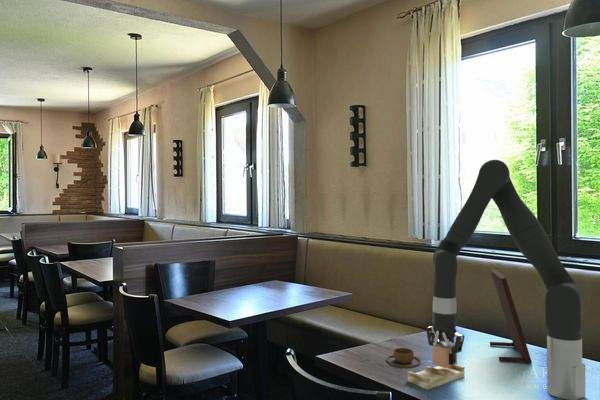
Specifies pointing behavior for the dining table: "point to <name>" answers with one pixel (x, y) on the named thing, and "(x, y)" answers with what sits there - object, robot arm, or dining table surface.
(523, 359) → the picture frame
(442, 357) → the frame block
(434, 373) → the light wooden ridged board
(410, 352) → the place setting
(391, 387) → the dining table surface
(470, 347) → the dining table surface
